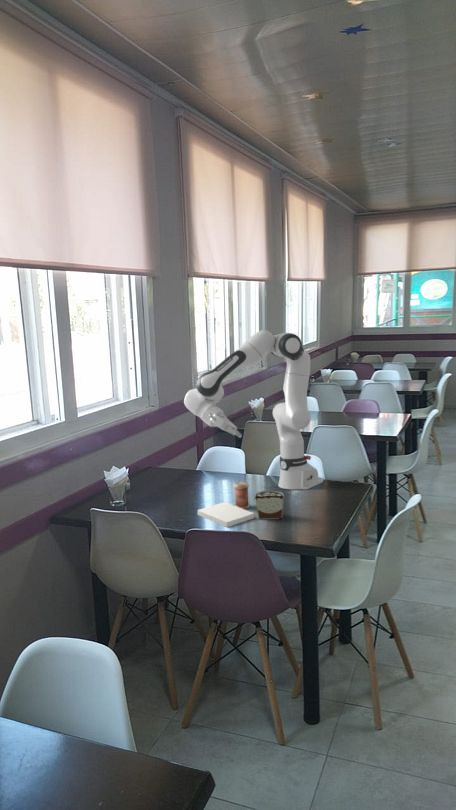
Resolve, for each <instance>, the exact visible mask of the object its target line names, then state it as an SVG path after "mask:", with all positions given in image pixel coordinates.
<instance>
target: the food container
mask: <svg viewBox="0 0 456 810" xmlns="http://www.w3.org/2000/svg"><path fill="white" fill-rule="evenodd" d="M253 500H254V501H255V503H256V509H257V510H256V511H257V517H258V519H259V520H270V519H271V520H280V519H279V518H282V519H283V514H284V500H286V497H285V494H284V493H283V492H281V491H279V490H262V491H259V492H257V493H255V494H254V499H253Z"/></svg>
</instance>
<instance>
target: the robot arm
mask: <svg viewBox="0 0 456 810" xmlns="http://www.w3.org/2000/svg"><path fill="white" fill-rule="evenodd" d="M269 354H272V355H273V356H276V357H280V358H284V359H285V362H286V369H285V375H284V379H283V380H284V381H283V388H282V391H283V393H284V400H285V401H284V402H279V403H277V404H276V405H275V406H274V407H273V409H272V417H273V419H274V421H275V425H276V428H277V429H276V430H277V433H278V438H279V439H278V440H279V452H280V456H279V465H280V468H279V469H280V471H279V478H278V479H279V480H278V487H279V488H280V489H285V490H309V489H312V488H313V487H316V486H318V485H320V484H323V483H324V482H325V481H324V479H323V478H322V477H319V471H318V469H317V468H316V467H314V466H313V465H312V464H310V463H309V462H308V460H309V461H310V460H311V459H312V456H311V455H305V441H304V438H303V436H302V435H303V434H302V432H301V430H303V429H305V428H307V427H308V426H309V425H310V422H311V414H310V413H309V407H308V388H309V386H308V385H309V379H310V374H311V355H310V354H309V353H308V352H307V351H305V350H304V347H303V343H302V340H301V338H300V337H299V336H298V335H297V334H294V333H291V332H282V333H275V334H272V332H270V331H268V330H266V329H261V330H258V331H257V332H256V333H255V334H253V335H252V336H250V337H249V338H248V339H247V340H246V341H245V342H243V344H242V345H240V347H239V348H238V349H236V350H235V351H234V352H232V353H231V354H230V355H228V356H227V357H226V358H224V360H223V361H221V362H220V363H219V364H218V365H216V366H215V367H214V368H213V369H211V370H209V371H207V372H204V373H202V374H201V375H200V376H199V377H198V378H197V379H196V386H195V387H196V388H193V389H189V390H188V391H187V392H186V394H185V396H184V398H183V404H184V406H185V408H186V409H187V410H188V411H190V413H192V414H193V415H194V416H196V417H198V418H200V420H201V421H203V422H204V423H205V424H206V425H207V426H209V427H210V428H213V427H214V428H218V429H220V430H222V431H224V432H227V433H229V434H231V435H233V436H236V437H237V438H242V436H243V434H242V433H241V432H240V431H239V430H238V427H237V426H236V425H235V424H234V423H233V422H232V421H231V420H230V419H228V418H227V415H226V414H225V412H224V410H222V409H221V408H220V407H218V406H217V404H218V403H219V402H220V401H222V400H223V398H224V396H225V395H224V394H225V389H224V387H223V384H222V382H224V380H225V379H226V378H227V377H229V376H230V375H231V374H232V373H233V372H234V371H236V370H237V369H240V368H241V369H242V368H243V369H247V370H248V369H249V370H250V369H253V368H254V367H255V366H257V365H259V364H260V363H261V362H262V361H263V360H264V359H265V358H266V357H267V355H269ZM323 481H324V482H323Z"/></svg>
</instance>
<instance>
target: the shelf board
mask: <svg viewBox="0 0 456 810" xmlns="http://www.w3.org/2000/svg"><path fill="white" fill-rule="evenodd" d="M197 515H198V516H200V517H202V518H204V519H206V520H209V521H212V522H214V523H216V524H218V525H221V526H223V527H225V528H230V527H232V526H235V525H238V524H241V523H244V522H247V521H250V520H252V519H255V512H252V511H249V510H248V509H241V508H239V507H236V506H235V505H234V504H231V503H228V502H225V501H223V502H220V503H216V504H214V505H211V506H207V507H204V508H199V509H197Z"/></svg>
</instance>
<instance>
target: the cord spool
mask: <svg viewBox="0 0 456 810" xmlns="http://www.w3.org/2000/svg"><path fill="white" fill-rule="evenodd" d="M233 487H234V493H235V504H234V506H236V507H239V508H241V509H244V510H248V509H250V503H249V490H248V489H249V483H248V482H243V481H239V482H236V483H233ZM247 508H248V509H247Z"/></svg>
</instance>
